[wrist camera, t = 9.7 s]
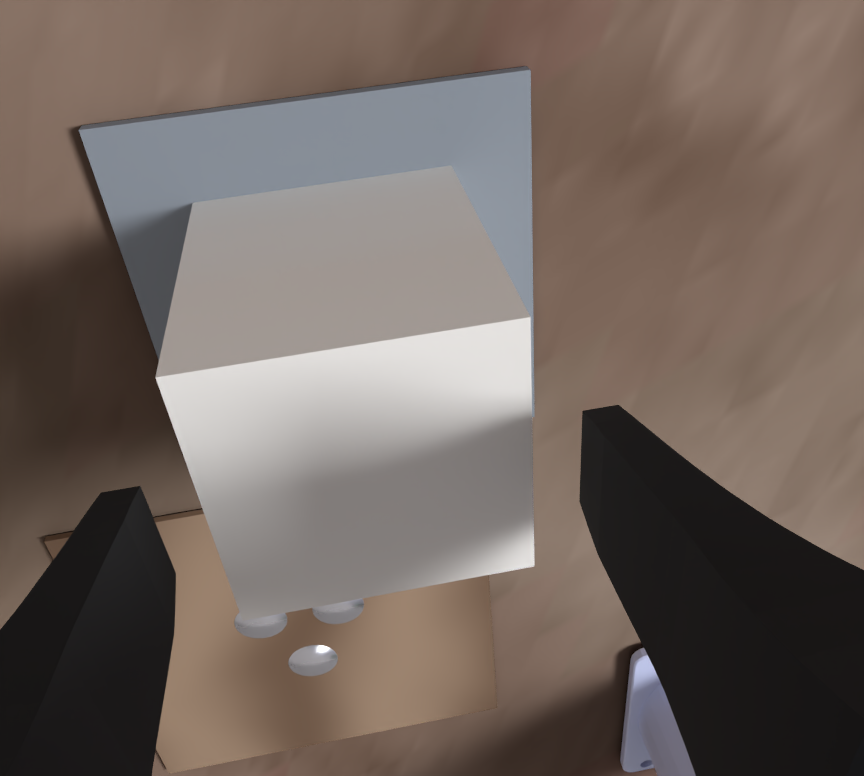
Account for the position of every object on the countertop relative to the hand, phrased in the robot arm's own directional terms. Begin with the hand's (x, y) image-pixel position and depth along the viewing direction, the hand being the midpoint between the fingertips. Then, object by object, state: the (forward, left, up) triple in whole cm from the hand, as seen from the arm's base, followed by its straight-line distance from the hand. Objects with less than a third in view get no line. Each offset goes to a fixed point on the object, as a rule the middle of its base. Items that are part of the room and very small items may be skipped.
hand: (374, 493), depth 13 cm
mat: (0, 0, -7) cm, 7 cm away
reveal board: (+3, +12, -7) cm, 14 cm away
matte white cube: (0, 0, -7) cm, 7 cm away
